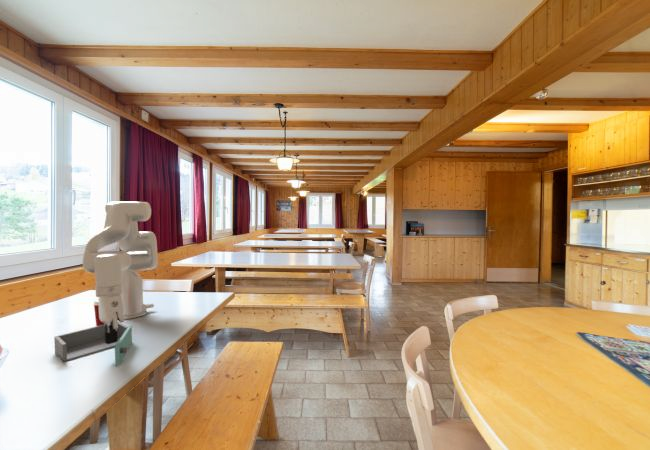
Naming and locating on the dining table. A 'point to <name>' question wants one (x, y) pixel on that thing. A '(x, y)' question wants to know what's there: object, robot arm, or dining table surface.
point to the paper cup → (97, 313)
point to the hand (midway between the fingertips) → (111, 342)
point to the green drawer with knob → (123, 345)
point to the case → (84, 342)
